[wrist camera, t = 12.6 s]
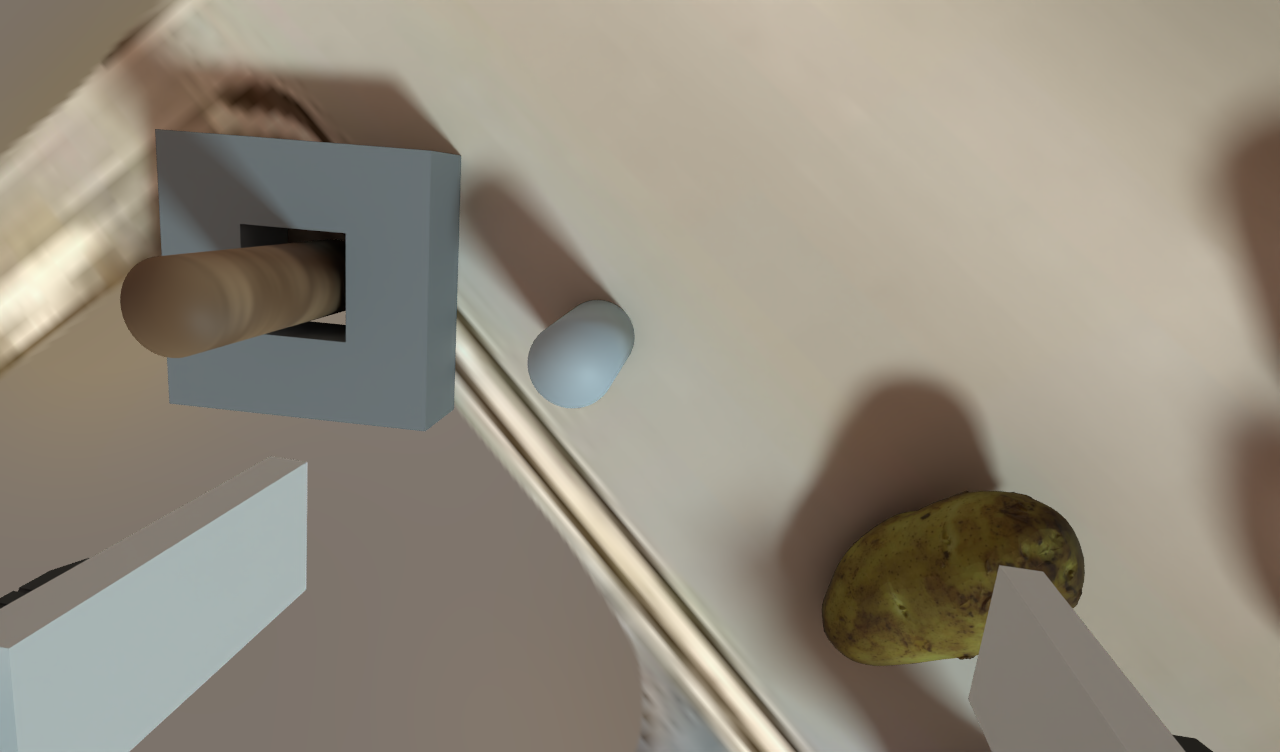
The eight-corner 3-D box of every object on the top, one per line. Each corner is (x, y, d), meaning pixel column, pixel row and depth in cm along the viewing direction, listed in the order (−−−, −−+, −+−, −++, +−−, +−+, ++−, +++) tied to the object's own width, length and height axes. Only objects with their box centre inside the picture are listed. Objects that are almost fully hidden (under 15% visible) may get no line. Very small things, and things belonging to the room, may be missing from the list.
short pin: (564, 296, 44) (529, 317, 36) (637, 303, 44) (618, 326, 36) (560, 368, 45) (525, 403, 37) (631, 375, 45) (611, 412, 37)
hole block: (211, 136, 44) (154, 129, 40) (461, 155, 43) (430, 150, 39) (221, 384, 47) (169, 403, 43) (453, 409, 46) (425, 431, 42)
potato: (788, 511, 45) (801, 576, 38) (1022, 448, 43) (1087, 503, 35) (828, 641, 47) (849, 729, 39) (1057, 586, 45) (1127, 668, 37)
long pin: (302, 235, 45) (117, 251, 31) (371, 242, 44) (215, 260, 31) (302, 307, 46) (123, 353, 32) (371, 314, 45) (218, 362, 32)
